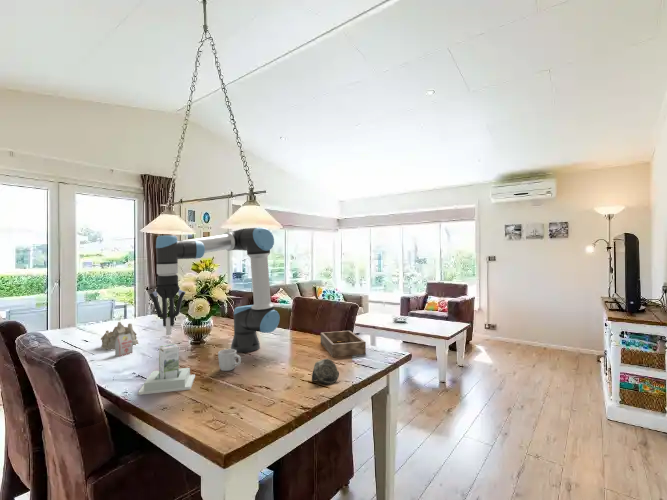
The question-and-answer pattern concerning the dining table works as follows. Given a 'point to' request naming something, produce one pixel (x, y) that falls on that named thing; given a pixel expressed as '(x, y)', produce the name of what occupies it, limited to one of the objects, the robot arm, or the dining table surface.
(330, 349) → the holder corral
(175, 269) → the robot arm
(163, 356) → the syrup box
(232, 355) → the cup
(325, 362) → the fossil
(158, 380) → the white tray
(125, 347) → the tea bag
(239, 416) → the dining table surface
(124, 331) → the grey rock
